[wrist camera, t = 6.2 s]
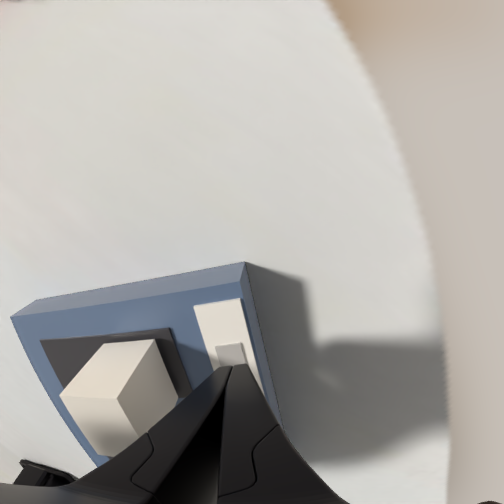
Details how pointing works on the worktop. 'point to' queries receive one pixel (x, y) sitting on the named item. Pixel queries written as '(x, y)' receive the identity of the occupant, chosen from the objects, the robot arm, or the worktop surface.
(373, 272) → the worktop surface
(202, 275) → the panel
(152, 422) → the tab
